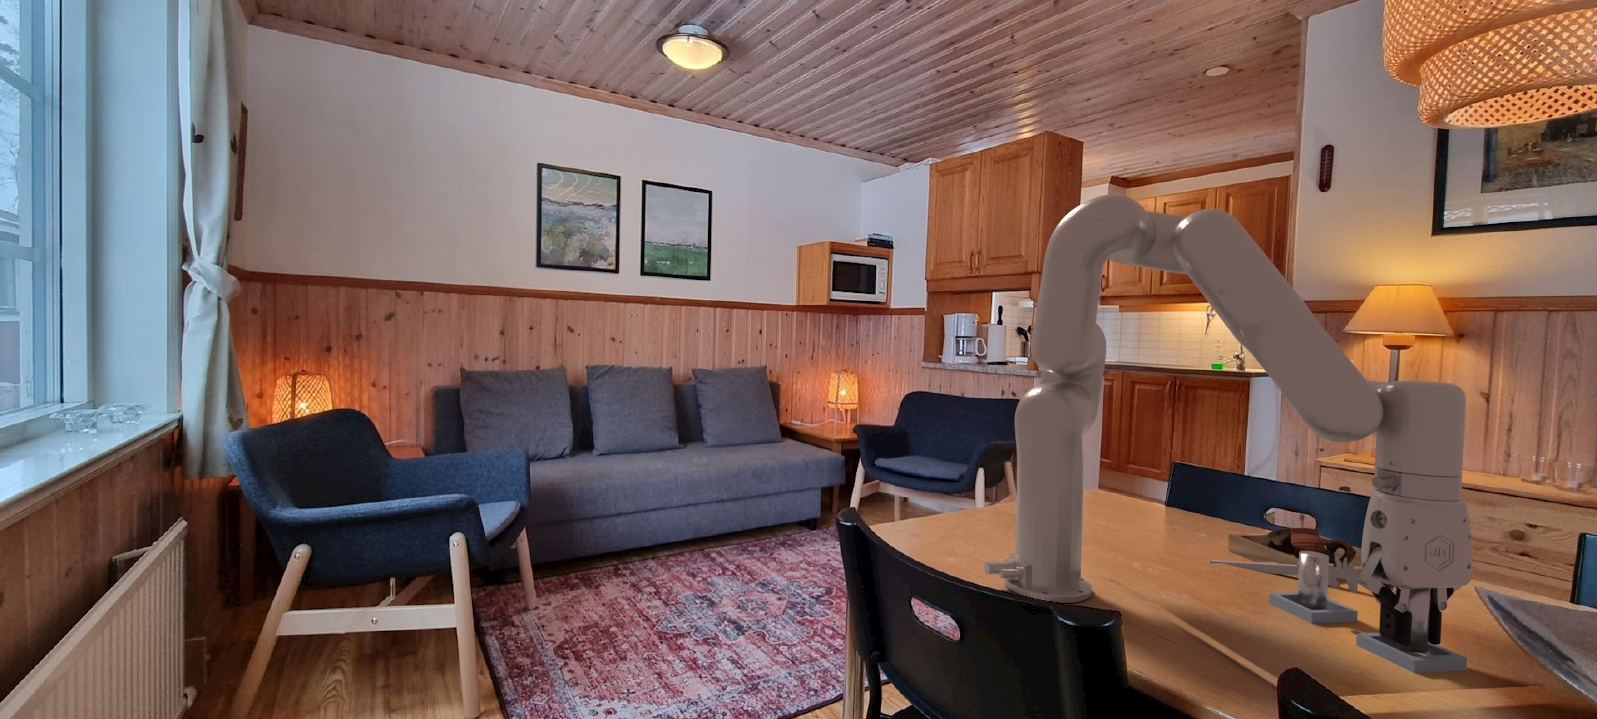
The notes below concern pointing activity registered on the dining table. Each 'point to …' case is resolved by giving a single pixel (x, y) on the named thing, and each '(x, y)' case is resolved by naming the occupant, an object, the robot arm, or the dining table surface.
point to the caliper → (1288, 569)
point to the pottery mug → (1308, 543)
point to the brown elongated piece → (1258, 552)
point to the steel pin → (1418, 620)
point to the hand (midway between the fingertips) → (1409, 638)
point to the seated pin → (1313, 580)
